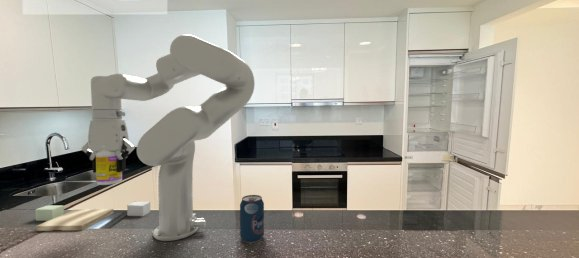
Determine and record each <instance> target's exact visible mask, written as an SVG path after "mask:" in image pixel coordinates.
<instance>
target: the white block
mask: <svg viewBox="0 0 579 258" xmlns="http://www.w3.org/2000/svg"><path fill="white" fill-rule="evenodd" d="M126 206H127V207H126V212H127V217H128V216H129V217H145V216H146V215H148V214H149V213H151V201H134V202H131V203H129V204H128V205H126Z"/></svg>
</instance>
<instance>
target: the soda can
mask: <svg viewBox="0 0 579 258" xmlns="http://www.w3.org/2000/svg"><path fill="white" fill-rule="evenodd" d="M264 234H265V203H264V200H263V197H262V196H261V195H257V194H249V195H244V196H243V197H242V198H241V201H240V204H239V236H240V237H241V239H242V242H244V243H247V244H248V243H249V244H253V243H257V242H260V241H261V240H262V238H263V237H264Z"/></svg>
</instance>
